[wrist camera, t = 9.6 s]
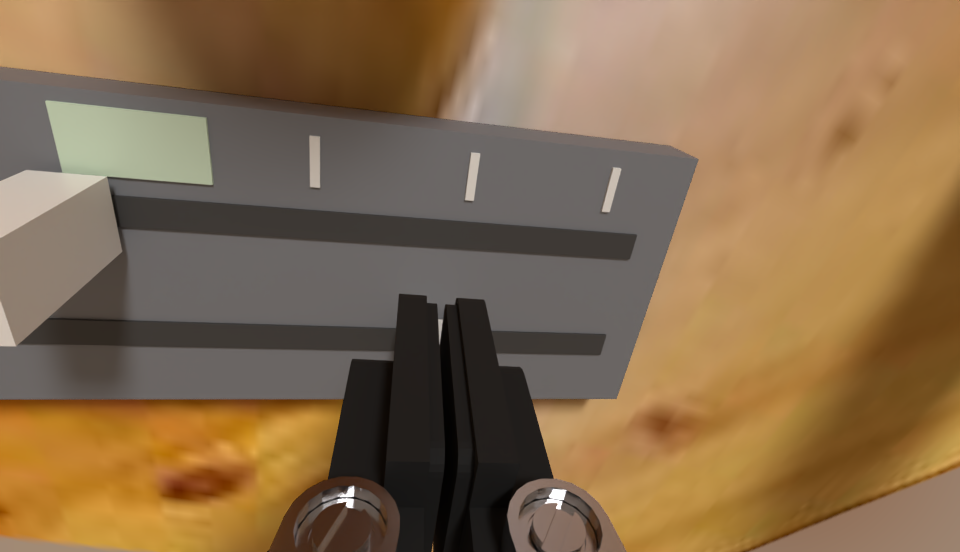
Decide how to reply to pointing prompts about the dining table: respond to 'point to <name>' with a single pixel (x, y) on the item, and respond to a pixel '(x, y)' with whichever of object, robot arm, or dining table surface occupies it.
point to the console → (330, 241)
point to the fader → (50, 244)
